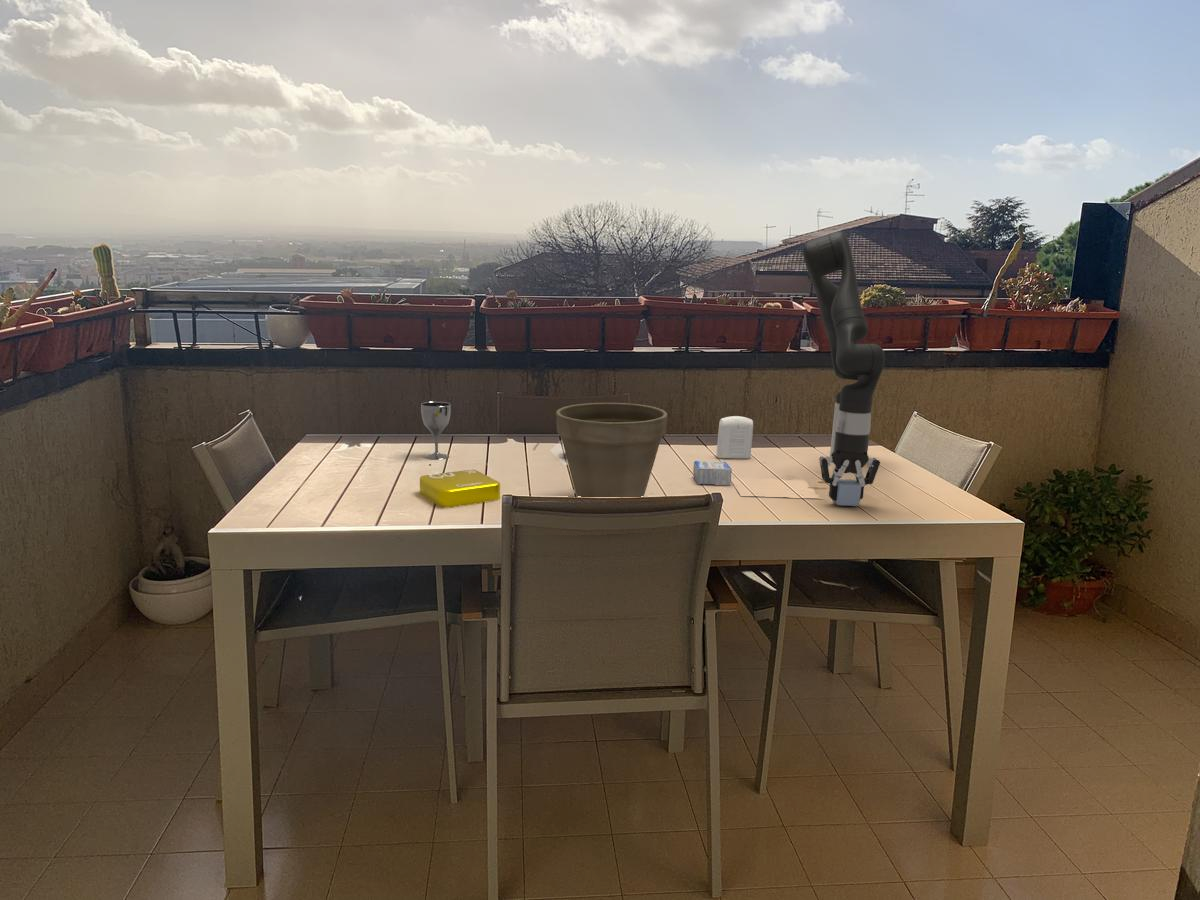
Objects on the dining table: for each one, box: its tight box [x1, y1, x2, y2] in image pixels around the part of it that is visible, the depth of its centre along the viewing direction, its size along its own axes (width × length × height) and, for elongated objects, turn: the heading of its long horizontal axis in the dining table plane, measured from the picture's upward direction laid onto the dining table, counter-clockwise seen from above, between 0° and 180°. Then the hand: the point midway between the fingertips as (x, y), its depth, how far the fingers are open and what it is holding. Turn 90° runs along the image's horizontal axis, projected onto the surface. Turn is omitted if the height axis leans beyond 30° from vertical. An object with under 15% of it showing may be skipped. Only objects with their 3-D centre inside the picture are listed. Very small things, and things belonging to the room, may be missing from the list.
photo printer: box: [716, 415, 754, 460], centre depth 226 cm, size 10×4×12 cm, turn 98°
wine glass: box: [420, 401, 452, 461], centre depth 215 cm, size 8×8×15 cm
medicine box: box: [692, 460, 733, 486], centre depth 200 cm, size 8×4×9 cm
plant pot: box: [555, 402, 668, 497], centre depth 176 cm, size 25×25×22 cm
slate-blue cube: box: [833, 478, 861, 507], centre depth 183 cm, size 5×5×5 cm
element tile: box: [419, 469, 501, 508], centre depth 180 cm, size 15×15×5 cm
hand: (845, 500), depth 183 cm, fingers closed on slate-blue cube, 5 cm apart
